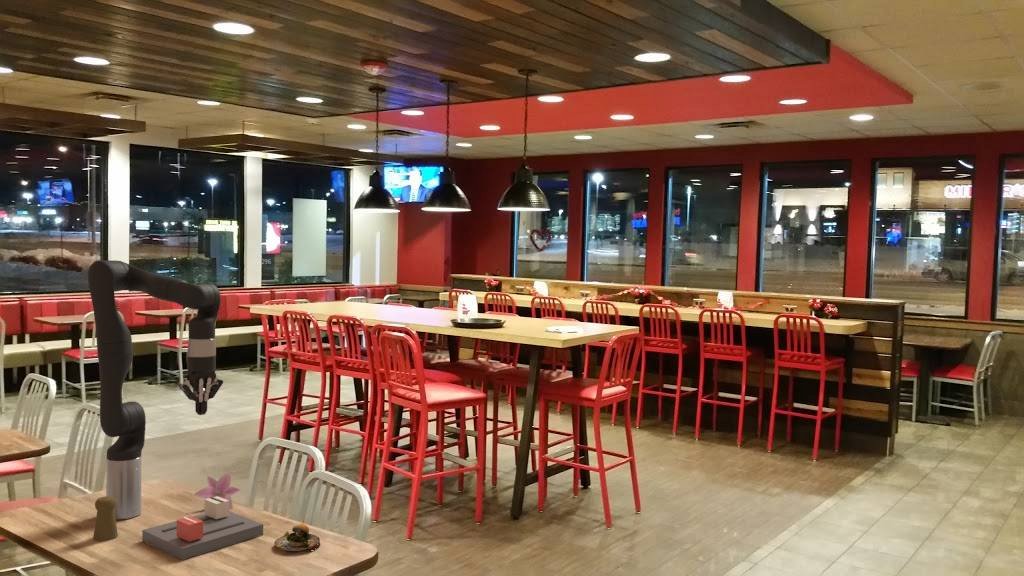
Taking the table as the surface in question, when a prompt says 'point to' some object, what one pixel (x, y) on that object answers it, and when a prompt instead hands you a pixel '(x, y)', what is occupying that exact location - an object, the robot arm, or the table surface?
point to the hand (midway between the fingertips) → (201, 414)
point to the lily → (219, 489)
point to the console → (214, 535)
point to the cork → (105, 519)
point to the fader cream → (216, 507)
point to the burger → (298, 539)
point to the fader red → (189, 528)
